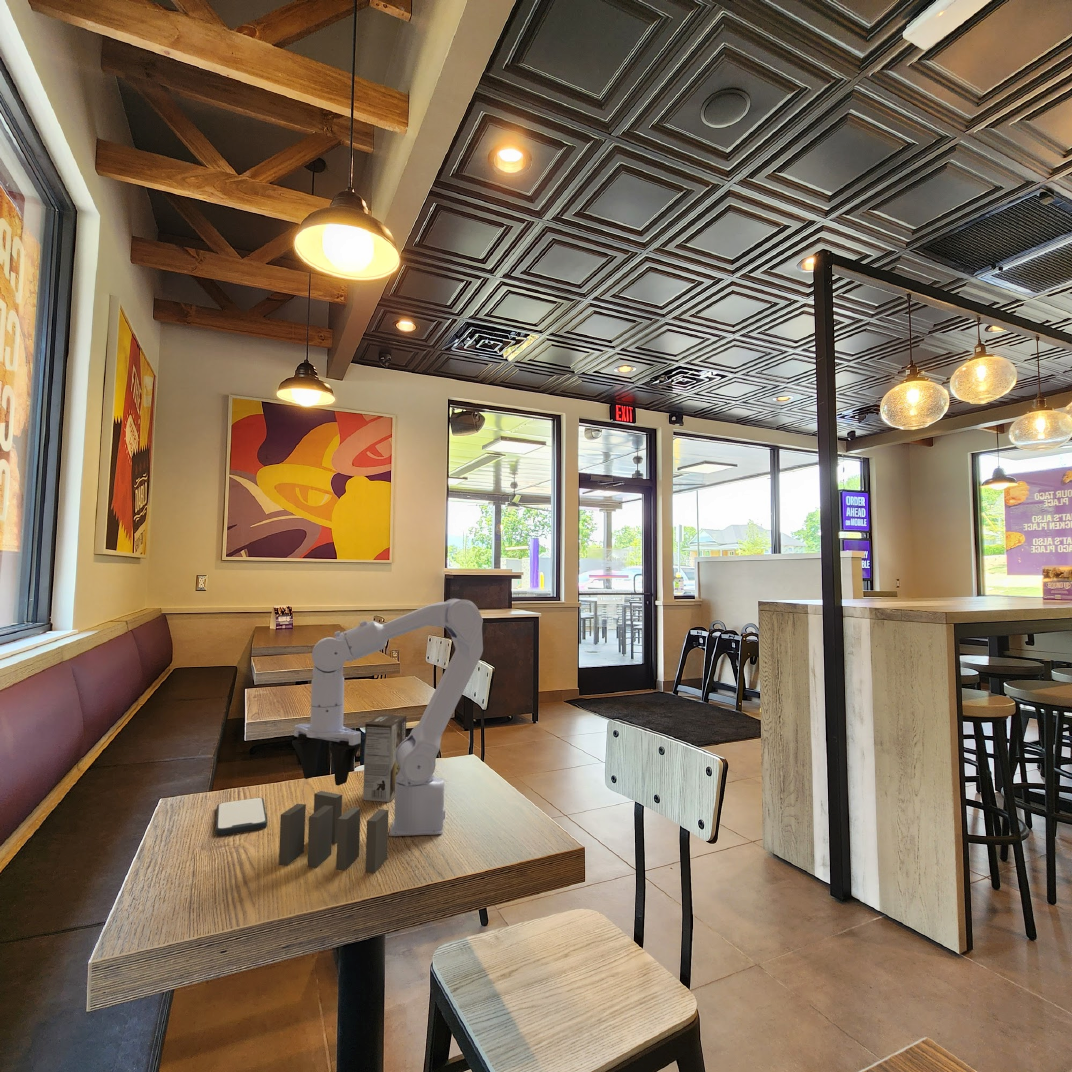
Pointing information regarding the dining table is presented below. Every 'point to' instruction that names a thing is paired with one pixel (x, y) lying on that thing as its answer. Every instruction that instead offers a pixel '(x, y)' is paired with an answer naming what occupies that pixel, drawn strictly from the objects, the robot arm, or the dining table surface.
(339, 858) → the domino
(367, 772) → the coffee box
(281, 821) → the domino
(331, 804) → the end domino
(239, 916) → the dining table surface
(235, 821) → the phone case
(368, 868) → the domino
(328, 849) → the domino
